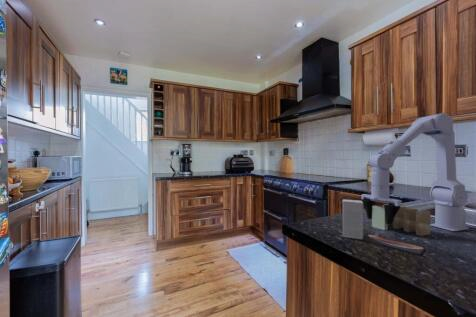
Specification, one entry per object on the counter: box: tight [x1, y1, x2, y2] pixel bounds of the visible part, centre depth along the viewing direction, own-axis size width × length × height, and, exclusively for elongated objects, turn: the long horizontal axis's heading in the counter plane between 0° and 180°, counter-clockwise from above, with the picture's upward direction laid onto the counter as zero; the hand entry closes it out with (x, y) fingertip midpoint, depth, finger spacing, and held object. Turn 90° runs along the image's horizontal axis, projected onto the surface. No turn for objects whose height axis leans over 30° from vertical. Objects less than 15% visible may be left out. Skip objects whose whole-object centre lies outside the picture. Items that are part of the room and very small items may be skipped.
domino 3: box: [403, 207, 419, 233], centre depth 81 cm, size 2×5×8 cm, turn 110°
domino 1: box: [371, 205, 388, 231], centre depth 84 cm, size 2×5×8 cm, turn 20°
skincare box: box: [342, 199, 364, 240], centre depth 74 cm, size 6×4×12 cm
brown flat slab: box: [361, 234, 426, 256], centre depth 68 cm, size 8×1×15 cm
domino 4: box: [415, 210, 431, 237], centre depth 77 cm, size 2×5×8 cm, turn 110°
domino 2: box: [392, 205, 407, 230], centre depth 85 cm, size 2×5×8 cm, turn 110°
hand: (379, 221), depth 84 cm, fingers open, 7 cm apart
